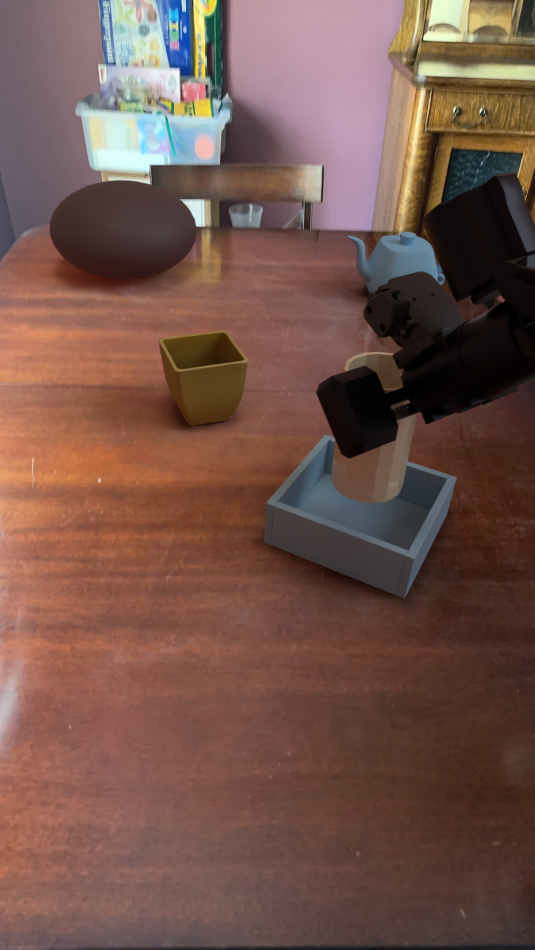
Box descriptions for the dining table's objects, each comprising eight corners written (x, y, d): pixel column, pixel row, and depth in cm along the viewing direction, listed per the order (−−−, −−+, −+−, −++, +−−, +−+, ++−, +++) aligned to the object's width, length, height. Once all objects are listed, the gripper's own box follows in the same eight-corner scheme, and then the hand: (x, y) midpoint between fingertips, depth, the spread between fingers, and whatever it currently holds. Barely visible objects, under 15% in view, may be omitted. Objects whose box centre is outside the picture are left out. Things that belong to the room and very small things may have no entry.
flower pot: (161, 401, 87) (157, 337, 81) (225, 391, 89) (226, 328, 84) (178, 438, 80) (175, 371, 75) (247, 426, 83) (249, 361, 77)
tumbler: (412, 499, 63) (436, 387, 56) (342, 506, 62) (358, 392, 55) (388, 457, 68) (408, 350, 61) (323, 463, 67) (335, 354, 60)
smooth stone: (46, 255, 126) (32, 169, 117) (175, 243, 134) (172, 162, 125) (69, 306, 108) (55, 211, 99) (216, 289, 117) (216, 199, 108)
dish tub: (446, 515, 71) (457, 476, 68) (404, 599, 61) (414, 558, 58) (320, 471, 76) (325, 434, 73) (263, 542, 67) (266, 502, 64)
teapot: (340, 221, 115) (441, 221, 118) (334, 281, 122) (430, 281, 124) (356, 246, 105) (467, 246, 108) (349, 310, 112) (453, 309, 114)
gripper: (528, 232, 53) (406, 314, 67) (346, 275, 44) (248, 359, 58) (583, 364, 53) (449, 418, 66) (411, 433, 44) (297, 480, 57)
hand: (366, 416), depth 62 cm, fingers closed on tumbler, 7 cm apart
